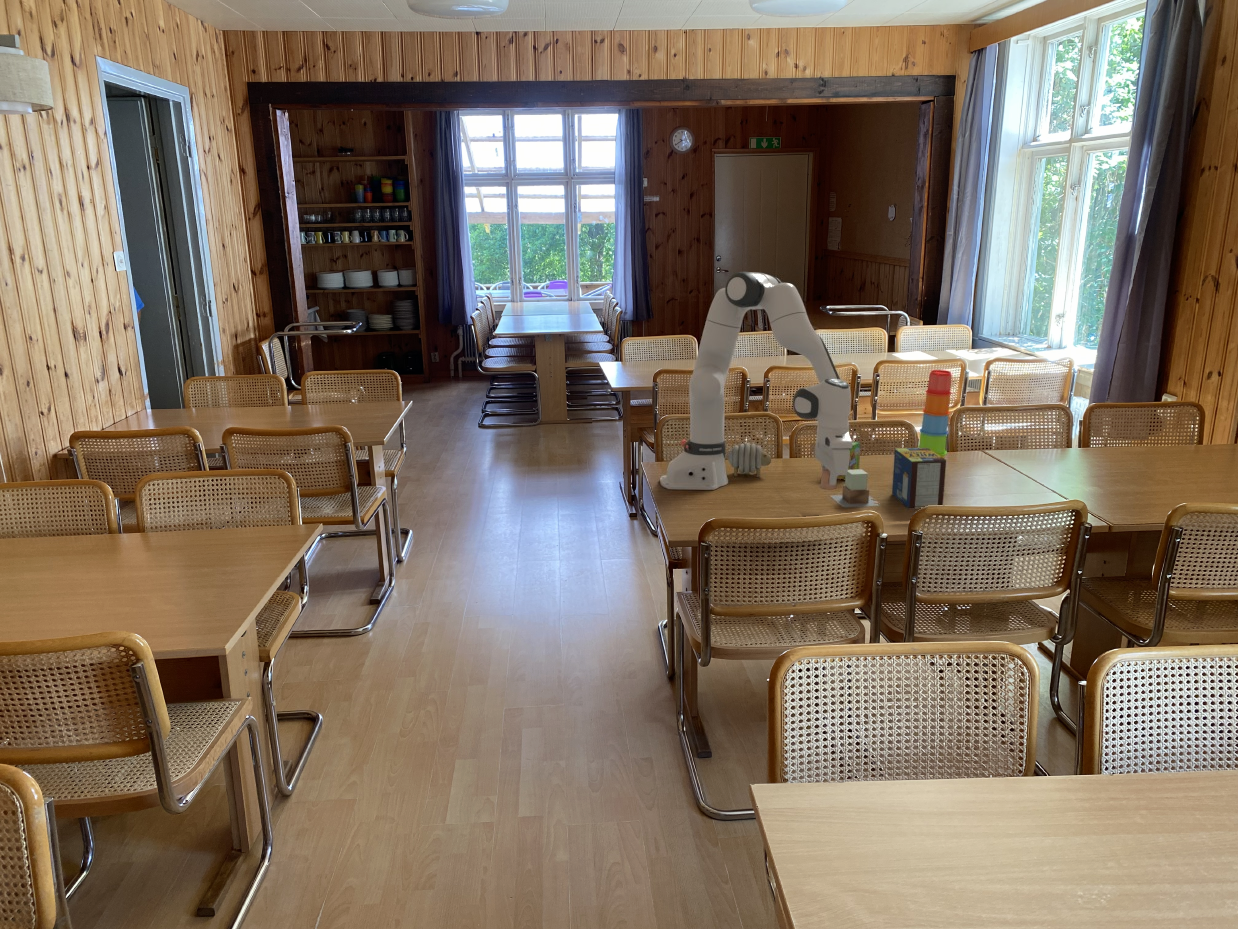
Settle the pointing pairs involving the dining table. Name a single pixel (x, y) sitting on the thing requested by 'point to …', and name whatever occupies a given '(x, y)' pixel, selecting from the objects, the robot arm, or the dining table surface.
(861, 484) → the sage block
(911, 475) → the protein box
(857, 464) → the colorful toy box
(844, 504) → the slate board
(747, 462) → the toy sheep
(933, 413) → the stacking cups
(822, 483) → the terracotta cylinder
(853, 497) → the walnut base block
